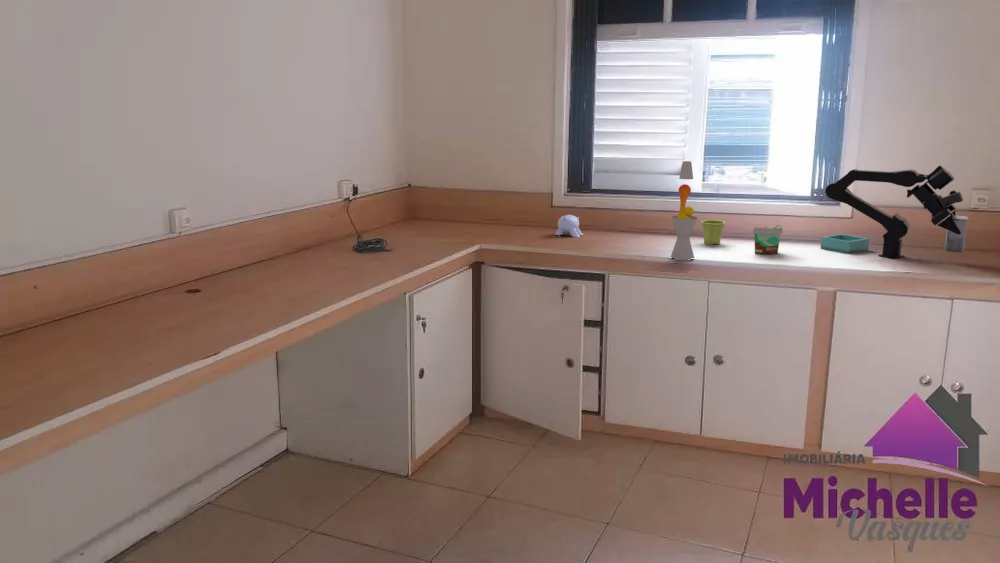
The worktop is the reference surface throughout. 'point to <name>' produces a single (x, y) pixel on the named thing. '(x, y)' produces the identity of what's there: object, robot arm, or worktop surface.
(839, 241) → the teal bin
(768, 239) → the food container
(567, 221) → the hippopotamus toy
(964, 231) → the grey can
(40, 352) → the worktop surface
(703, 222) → the plant pot
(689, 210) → the lava lamp
